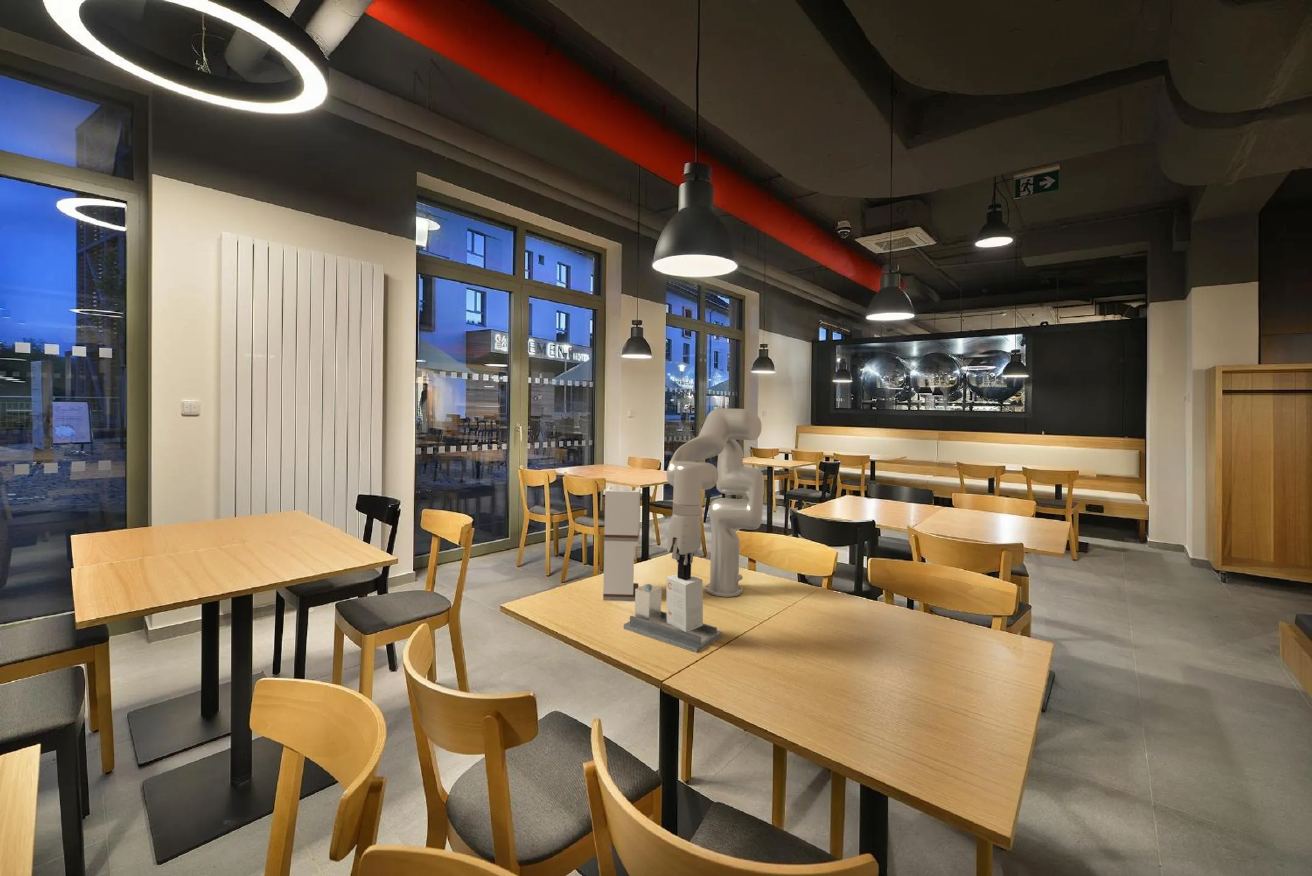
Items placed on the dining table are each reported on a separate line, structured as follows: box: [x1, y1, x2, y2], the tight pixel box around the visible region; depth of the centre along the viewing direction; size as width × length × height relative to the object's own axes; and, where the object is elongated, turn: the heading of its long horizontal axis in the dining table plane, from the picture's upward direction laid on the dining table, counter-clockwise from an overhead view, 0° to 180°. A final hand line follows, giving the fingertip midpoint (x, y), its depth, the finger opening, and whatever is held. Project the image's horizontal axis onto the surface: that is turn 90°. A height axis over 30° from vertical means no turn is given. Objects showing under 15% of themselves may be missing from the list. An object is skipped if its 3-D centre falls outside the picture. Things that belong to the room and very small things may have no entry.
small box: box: [665, 573, 704, 632], centre depth 151 cm, size 8×6×13 cm
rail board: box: [623, 583, 723, 654], centre depth 154 cm, size 13×24×12 cm, turn 54°
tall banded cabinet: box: [602, 485, 641, 602], centre depth 183 cm, size 11×11×35 cm
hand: (684, 578), depth 150 cm, fingers closed
